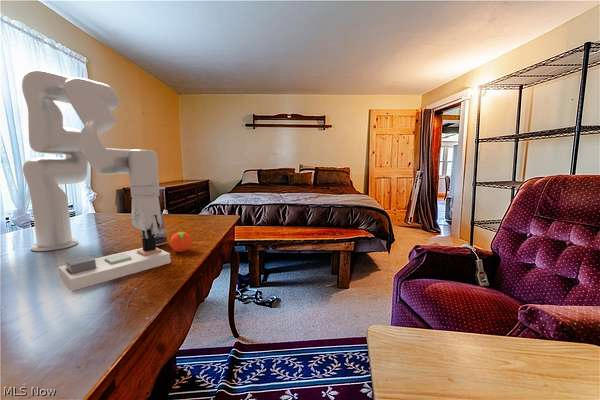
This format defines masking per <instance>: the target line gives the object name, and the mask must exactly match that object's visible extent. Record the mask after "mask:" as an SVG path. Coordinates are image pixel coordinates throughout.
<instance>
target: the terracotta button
mask: <svg viewBox="0 0 600 400" xmlns="http://www.w3.org/2000/svg"><path fill="white" fill-rule="evenodd" d="M161 250H162V249H160V248H159V247H157V246H156V249H154V250H150V251H144V250H143V249H140V250H137V253H138V254H140V255H142V256H148V255H152V254H156V253H160V252H161Z"/></svg>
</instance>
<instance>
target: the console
mask: <svg viewBox="0 0 600 400" xmlns="http://www.w3.org/2000/svg"><path fill="white" fill-rule="evenodd" d="M140 249H143V247H141V248H135V249H131V250H126V251H122V252H118V253H113V254H109V255H106V256H105V255H103V256H100V257H95V258H94V259H95V263H96V269H92V270H88V271H84V272H80V273H76V274H72V275H70V274H69V273H68V272H67V267H66V264H65V265H60V266H58V267H57V268H58V274H59V275H58V276H59V278H60V280H61V279H62V280H63V281H62V280H61V281H62V282H63V283H64V284H65V286H67V287H68V288H69V290H70V291H71V290H72V292H73V291H77V290H81V289H84V288H88V287H91V286H95V285H99V284H101V283H104V282H108V281H111V280H116V279H119V278H122V277H125V276H129V275H134V274H136V273H139V272H143V271H146V270H149V269H153V268H157V267H160V266H163V265H167V264H171V252H168V251H165V250H163V249H161V252H160V253H156V254H152V255H148V256H142V255H140V254H138V253H137V250H140ZM122 253H125V254H127V255H129V256H131V260H128V261H124V262H120V263H116V264H112V265H110V264H109V263H107V262H106V261H105V257H109V256H114V255H118V254H122Z"/></svg>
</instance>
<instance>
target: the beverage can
mask: <svg viewBox="0 0 600 400" xmlns="http://www.w3.org/2000/svg"><path fill="white" fill-rule="evenodd" d="M166 231H167V230H166V225H165V219H164V215H162V214H161V227H160V228H158V233H157V234H156V237H155V241H156V247H157V246H162V245H164V244H166V242H168V237H167V232H166Z"/></svg>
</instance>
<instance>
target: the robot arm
mask: <svg viewBox="0 0 600 400" xmlns="http://www.w3.org/2000/svg"><path fill="white" fill-rule="evenodd" d="M21 89H22V93H23V97H24V100H25V103H26V107H27V111H28V112H27V114H28V115H27V116H28V117H27V118H28V121H27V123H28V125H27V126H28V143H29V147H30V148H31V149H32V151H33V152H34V153H35V152H36V153H39V154H46V155H65V157H35V158H34V157H33V158H30V159H28V160H26V161H25V162H24V164H23V166H22V173H23V176H24V179H25V181H26V185H27V188H28V191H29V196H30V203H31V210H32V219H33V224H34V231H35V232H34V233H35V240H36V243H33V244H32V245H31V246H30V250H31V251H34V252H50V251H51V252H52V251H57V250H58V251H59V250H64V249H66V248H71V247H74V246H76V245H77V244H78V243H79V241H78V239H77V238H73V236H72V235H73V234H72V228H71V225H72V224H71V218H70V217H71V216H70V208H69V207H70V206H69V200H68V196H67V194H66V192H65V191H64V190H63V189H62V188H61V187H60V186H61V185H70V184H80V183H82V182H84V181H85V180H86V178H87V177H88V166H89V165H90V167H91V168H92V169H93V170H94V171H95V172H97V173H99V174H101V175H129V185H130V186H129V188H130V197H131V224H132V226H133V227H134V228H136V229H138V230H139V231H140V234H141V240H142V241H141V242H142V248H143V250H144V251H150V250H154V249H156V247H157V246H156V241H155V237H156V234H157V233H158V228H160V227H161V215H162V213H161V212H162V211H161V205H160V199H159V197H160V182H159V179H160V178H159V166H158V154H157V152H156V151H154V150H152V149H129V148H126V149H125V148H114V147H113V148H111V147H110V148H109V147H105V146H104V144H103V143H102V141H101V139H100V137H99V135H100V134H103V133H107V132H108V131H110V130H111V129H112V128H113V127H114V126H115V125H116V123H117V122H116V121H117V120H116V118H115V116H114V114H113V112H112V111H115V110H116V109H117V108H118V106H119V103H120V100H119V99H120V98H119V95H118V93H117V91H116V90H115V89H114V88H113V87H112V86H110V85H108V84H105V83H103V82H97V81H94V80H91V79H87V78H83V77H71V76H68V75H64V74H62V73H61V74H60V73H56V72H53V71H49V70H43V69H31V70H28V71H27V72H26V73H25V74H24V76H23V78H22V83H21ZM55 101H57V102H62V103H65V104H70V105H71V106H72V108H73V110H74V111H75V113H76V115H77V116H78V118H79V120H80V121H81V123H82V125H83V127H82V129H81V130H80V129H76V128H71V127H64V115H63V112H62V110H61V109H60V107H59V106H58V104H57V103H56V102H55ZM88 164H89V165H88Z"/></svg>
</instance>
